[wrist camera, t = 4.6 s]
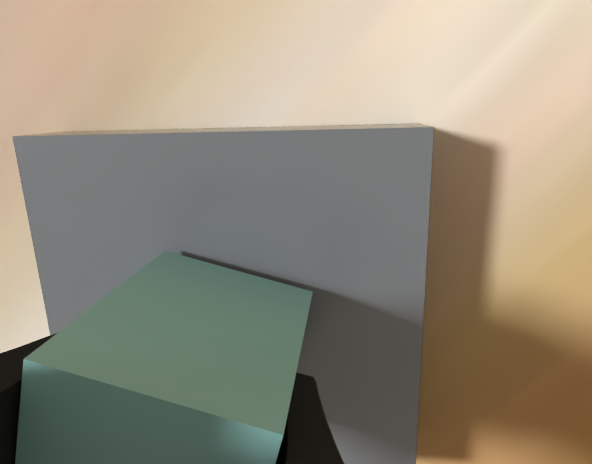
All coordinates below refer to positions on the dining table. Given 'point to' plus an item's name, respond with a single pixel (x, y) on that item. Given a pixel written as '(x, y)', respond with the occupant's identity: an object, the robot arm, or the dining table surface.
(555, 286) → the dining table surface
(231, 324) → the teal block
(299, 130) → the slate base
